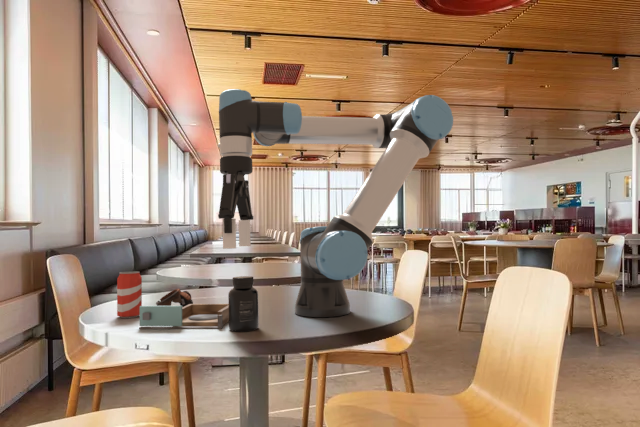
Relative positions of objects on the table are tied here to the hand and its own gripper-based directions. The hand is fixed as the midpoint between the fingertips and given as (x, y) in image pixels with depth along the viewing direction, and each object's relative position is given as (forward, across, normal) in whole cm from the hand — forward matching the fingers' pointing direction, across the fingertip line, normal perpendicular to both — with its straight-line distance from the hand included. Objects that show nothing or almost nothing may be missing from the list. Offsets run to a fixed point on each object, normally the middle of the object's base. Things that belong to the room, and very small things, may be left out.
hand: (237, 247), depth 107 cm
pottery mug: (+19, -18, -22) cm, 34 cm away
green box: (+19, 0, -19) cm, 26 cm away
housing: (+19, -7, -14) cm, 24 cm away
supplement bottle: (+19, 0, +1) cm, 19 cm away
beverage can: (+19, -15, -34) cm, 42 cm away
